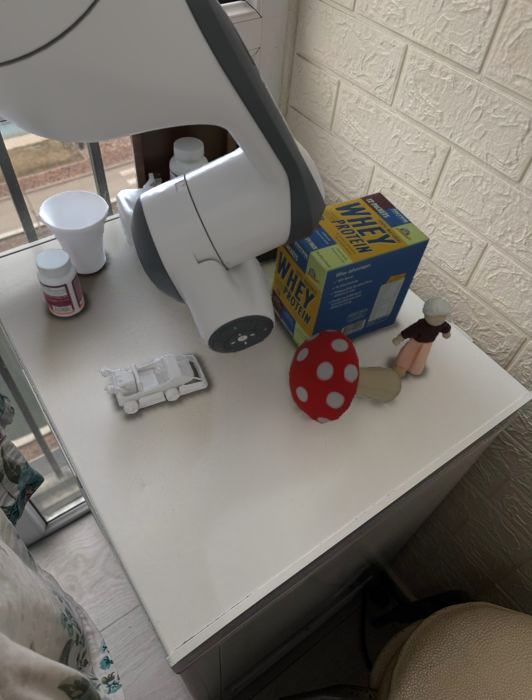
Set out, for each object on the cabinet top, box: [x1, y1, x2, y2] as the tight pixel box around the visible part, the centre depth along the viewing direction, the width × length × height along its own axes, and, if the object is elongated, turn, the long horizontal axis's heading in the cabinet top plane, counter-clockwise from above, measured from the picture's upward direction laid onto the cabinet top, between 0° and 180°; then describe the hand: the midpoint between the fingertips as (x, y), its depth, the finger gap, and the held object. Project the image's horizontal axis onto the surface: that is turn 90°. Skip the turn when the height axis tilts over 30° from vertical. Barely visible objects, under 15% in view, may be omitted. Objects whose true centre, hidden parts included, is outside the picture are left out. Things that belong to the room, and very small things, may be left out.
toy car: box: [98, 353, 209, 415], centre depth 61 cm, size 6×12×4 cm, turn 114°
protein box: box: [271, 192, 431, 348], centre depth 67 cm, size 10×15×16 cm
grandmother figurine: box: [390, 296, 453, 378], centre depth 63 cm, size 8×4×13 cm, turn 114°
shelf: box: [129, 124, 237, 189], centre depth 70 cm, size 14×10×26 cm
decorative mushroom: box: [288, 329, 403, 425], centre depth 60 cm, size 11×11×15 cm
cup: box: [36, 189, 110, 275], centre depth 71 cm, size 9×9×10 cm
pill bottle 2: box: [169, 137, 208, 179], centre depth 71 cm, size 5×5×10 cm
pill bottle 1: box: [34, 247, 85, 318], centre depth 66 cm, size 5×5×8 cm
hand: (189, 174), depth 68 cm, fingers open, 8 cm apart
